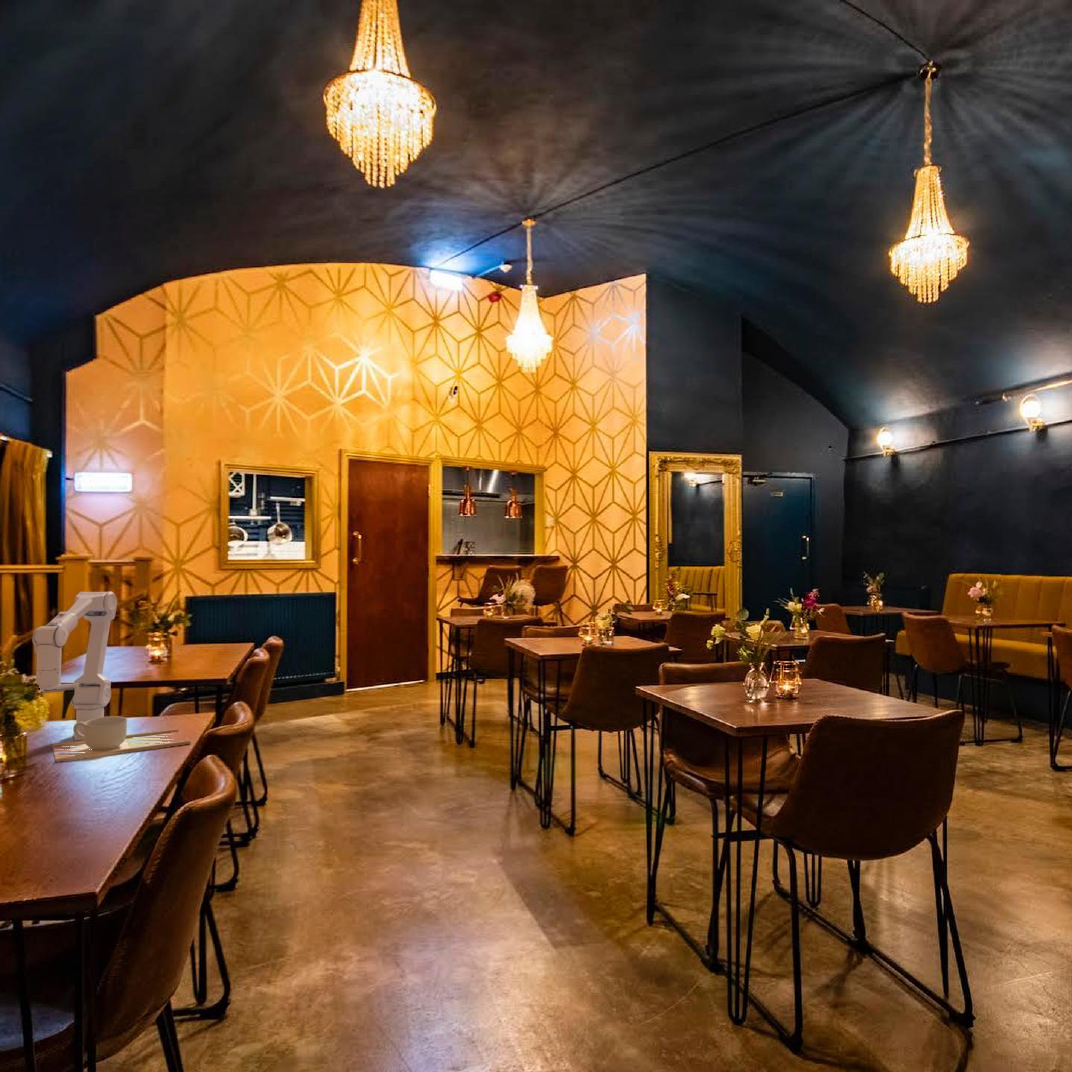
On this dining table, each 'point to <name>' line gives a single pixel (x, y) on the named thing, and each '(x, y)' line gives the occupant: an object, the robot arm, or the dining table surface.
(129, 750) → the beige flat rectangular board
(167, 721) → the dining table surface
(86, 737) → the teacup
